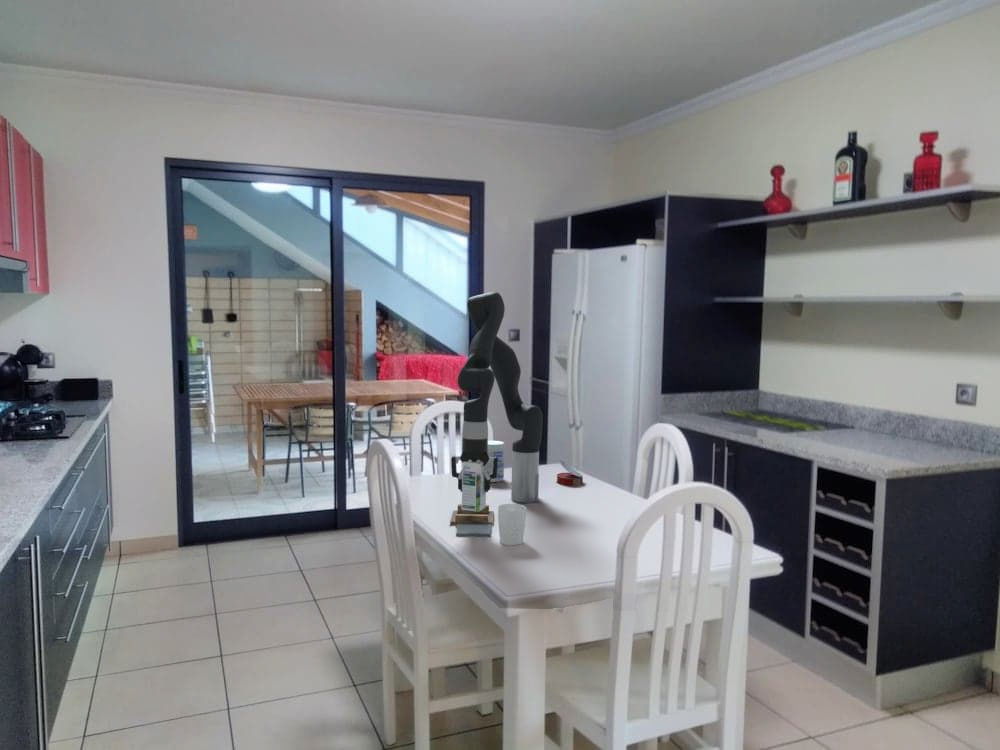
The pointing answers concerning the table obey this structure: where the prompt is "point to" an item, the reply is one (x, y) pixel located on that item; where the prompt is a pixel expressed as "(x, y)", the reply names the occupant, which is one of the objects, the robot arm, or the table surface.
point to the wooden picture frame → (472, 516)
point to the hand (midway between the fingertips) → (474, 491)
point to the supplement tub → (498, 450)
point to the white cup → (511, 523)
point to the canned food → (569, 477)
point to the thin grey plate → (474, 530)
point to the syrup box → (473, 486)
